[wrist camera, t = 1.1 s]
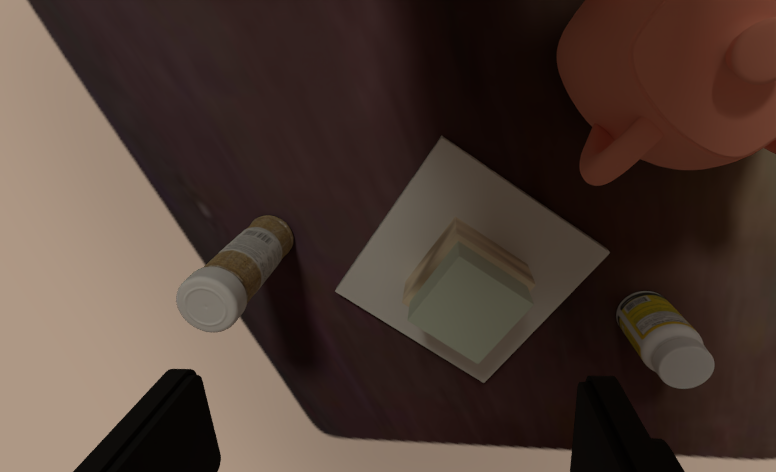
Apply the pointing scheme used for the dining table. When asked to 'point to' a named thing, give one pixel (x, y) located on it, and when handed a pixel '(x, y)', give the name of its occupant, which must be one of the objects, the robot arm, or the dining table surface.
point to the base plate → (489, 217)
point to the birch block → (476, 243)
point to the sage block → (469, 303)
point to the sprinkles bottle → (234, 275)
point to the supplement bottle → (664, 340)
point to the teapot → (671, 82)
